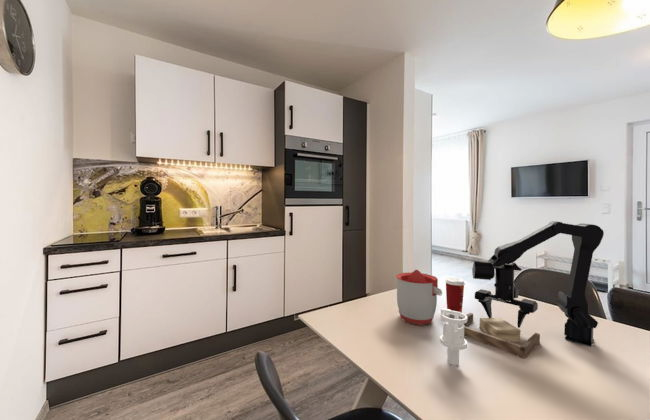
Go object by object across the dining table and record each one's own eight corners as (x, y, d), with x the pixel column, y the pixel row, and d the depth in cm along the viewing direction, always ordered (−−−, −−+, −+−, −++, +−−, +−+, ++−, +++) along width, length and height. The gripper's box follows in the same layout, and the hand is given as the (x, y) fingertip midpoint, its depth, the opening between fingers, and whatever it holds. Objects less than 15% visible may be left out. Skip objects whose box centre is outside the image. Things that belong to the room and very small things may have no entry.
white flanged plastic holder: (443, 352, 84) (444, 304, 84) (469, 361, 80) (470, 310, 80) (436, 363, 79) (437, 311, 79) (463, 372, 75) (464, 318, 74)
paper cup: (468, 316, 113) (468, 282, 112) (449, 315, 113) (449, 282, 112) (459, 308, 120) (459, 277, 120) (441, 308, 121) (441, 277, 120)
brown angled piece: (539, 342, 91) (539, 333, 91) (524, 358, 82) (524, 348, 81) (470, 320, 109) (470, 312, 108) (450, 331, 99) (451, 322, 99)
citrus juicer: (435, 333, 97) (436, 277, 97) (389, 320, 108) (390, 270, 107) (446, 319, 110) (447, 269, 109) (404, 308, 120) (404, 263, 120)
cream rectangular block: (520, 342, 92) (520, 330, 92) (496, 341, 92) (496, 330, 92) (500, 328, 102) (501, 318, 102) (479, 328, 102) (479, 317, 102)
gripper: (542, 282, 98) (541, 325, 98) (485, 272, 113) (485, 310, 113) (533, 288, 91) (532, 335, 91) (474, 277, 106) (473, 317, 106)
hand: (504, 323), depth 101 cm, fingers open, 9 cm apart
